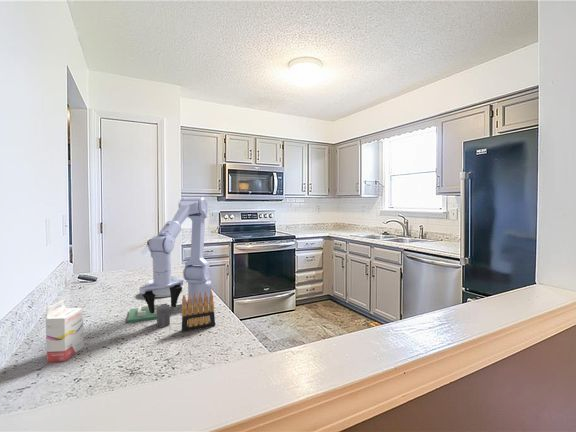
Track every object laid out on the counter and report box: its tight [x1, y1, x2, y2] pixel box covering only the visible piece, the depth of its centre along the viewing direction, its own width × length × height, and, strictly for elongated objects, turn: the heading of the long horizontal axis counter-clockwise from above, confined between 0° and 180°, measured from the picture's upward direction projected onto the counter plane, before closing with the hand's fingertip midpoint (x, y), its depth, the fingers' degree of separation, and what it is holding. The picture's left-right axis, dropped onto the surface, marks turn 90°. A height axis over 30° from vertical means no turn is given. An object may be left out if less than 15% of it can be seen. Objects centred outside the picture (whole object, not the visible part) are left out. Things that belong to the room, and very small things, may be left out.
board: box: [126, 303, 170, 324], centre depth 115 cm, size 14×12×2 cm
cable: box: [144, 275, 185, 298], centre depth 143 cm, size 18×18×6 cm
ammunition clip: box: [181, 290, 216, 333], centre depth 102 cm, size 11×2×12 cm, turn 115°
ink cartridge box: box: [45, 298, 84, 363], centre depth 85 cm, size 9×5×15 cm, turn 5°
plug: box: [156, 304, 171, 328], centre depth 105 cm, size 4×5×6 cm
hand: (163, 309), depth 105 cm, fingers open, 7 cm apart
